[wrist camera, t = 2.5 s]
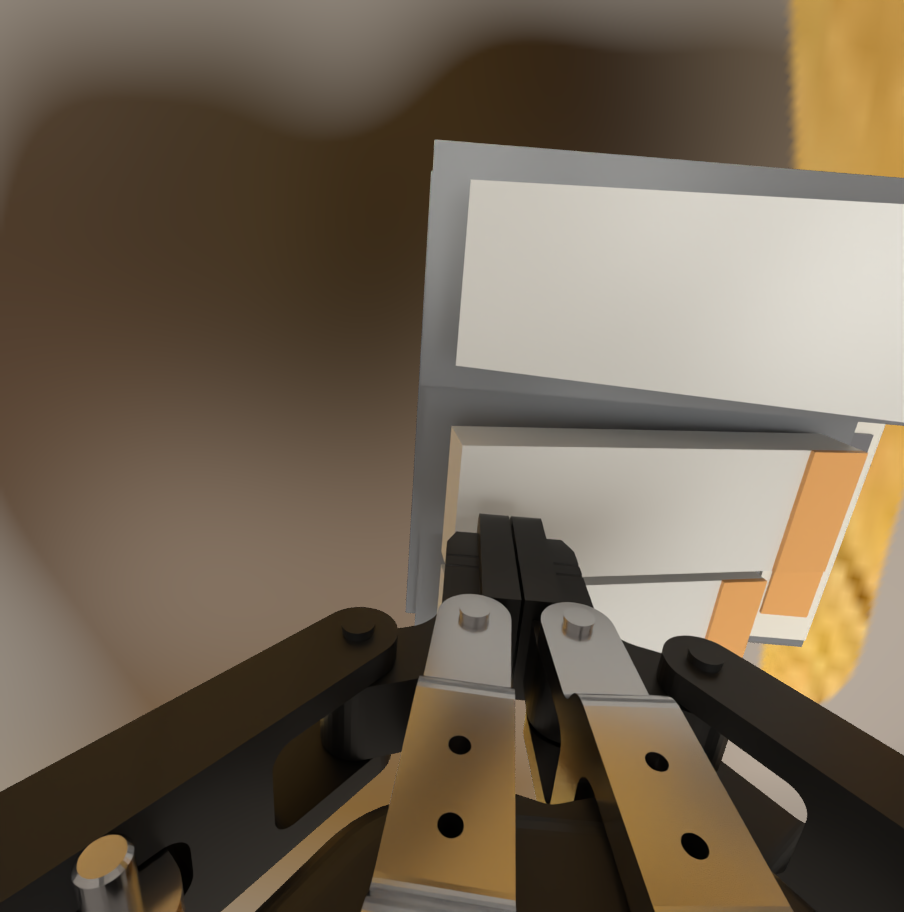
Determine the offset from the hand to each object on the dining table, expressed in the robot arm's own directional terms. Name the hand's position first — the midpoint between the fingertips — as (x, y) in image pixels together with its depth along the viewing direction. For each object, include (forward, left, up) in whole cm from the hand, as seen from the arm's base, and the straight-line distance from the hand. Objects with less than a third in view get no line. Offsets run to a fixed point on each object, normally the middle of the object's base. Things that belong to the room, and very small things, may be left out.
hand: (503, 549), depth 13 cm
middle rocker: (0, +5, -3) cm, 6 cm away
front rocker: (-6, +5, -1) cm, 8 cm away
